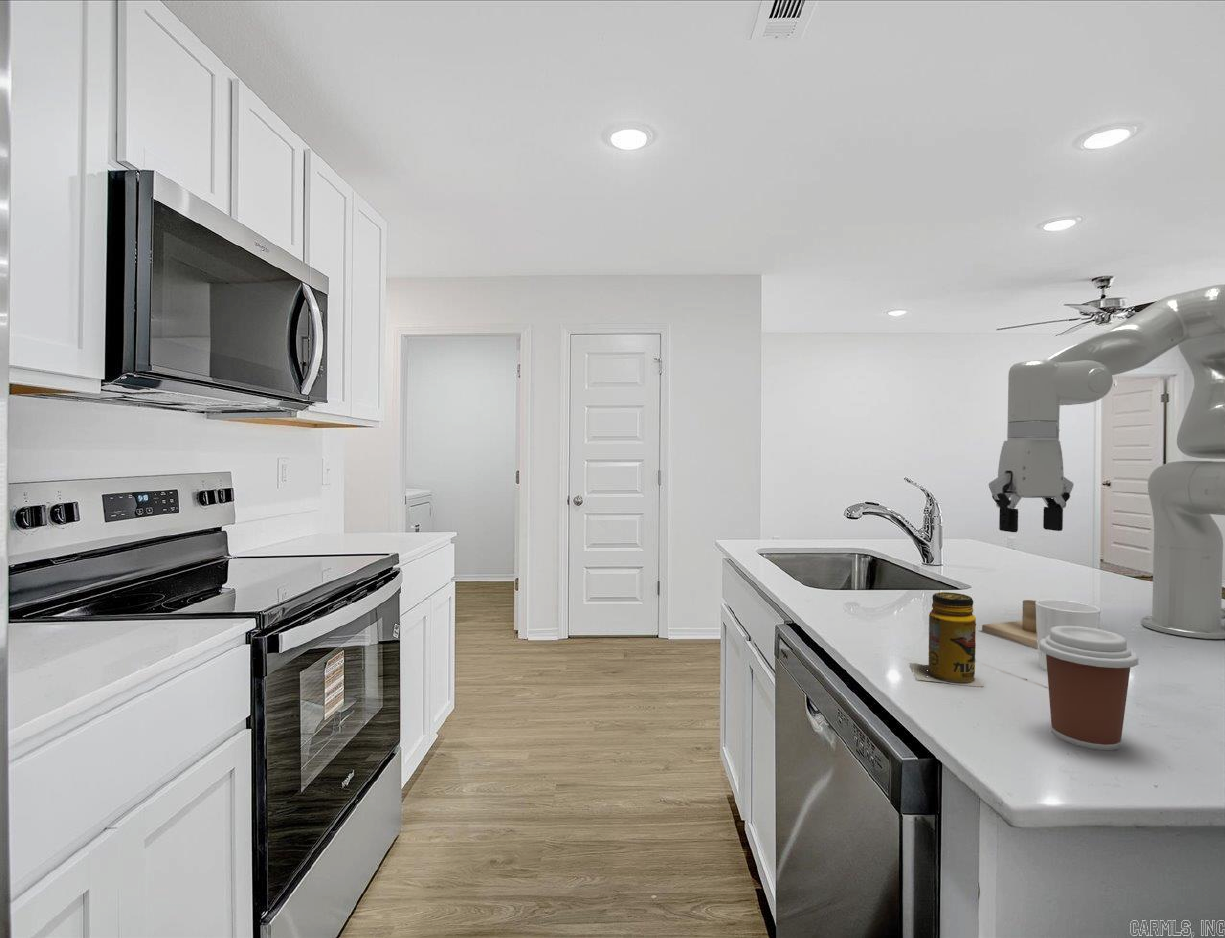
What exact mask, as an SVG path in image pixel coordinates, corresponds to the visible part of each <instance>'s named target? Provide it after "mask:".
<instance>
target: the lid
mask: <svg viewBox="0 0 1225 938" xmlns="http://www.w3.org/2000/svg"><path fill="white" fill-rule="evenodd" d="M1036 601H1037V600H1031V599H1024V600H1022V620H1017V621H1016V620H1015V621H1005V622H996V623H987V624H981V630H982V631H983V632H986V633H989V634H993V635H996V636H999V637H1002V638H1006V639H1009V640H1012V641H1015V642H1019V643H1022V644H1025V645H1028V646H1032V647H1035V648H1037V631H1036ZM986 633H985V634H986ZM989 634H988V635H989ZM999 637H998V638H999ZM1002 638H1001V639H1002ZM1015 642H1014V643H1015ZM1028 646H1027V647H1028Z"/></svg>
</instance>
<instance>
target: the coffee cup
mask: <svg viewBox="0 0 1225 938" xmlns="http://www.w3.org/2000/svg"><path fill="white" fill-rule="evenodd" d="M1039 650H1041V651H1042V652H1044V653H1045V654H1046V661H1047V670H1046V671H1047V673H1046V674H1047V685H1048V687H1047V688H1048V698H1049V710H1050V711H1049V712H1050V723H1051V728H1050V729H1051V733H1052V734H1053V735H1054V736H1055V737H1056V738H1057V739H1060V740H1062V741H1064V742H1065V743H1068V744H1072V745H1075V746H1077V747H1081V748H1086V749H1090V750H1095V751H1096V750H1098V751H1116V750H1118V749H1120V748H1121V747H1122V738H1123V737H1122V736H1123V727H1124V721H1125V714H1126V706H1127V705H1126V704H1127V697H1128V690H1129V689H1128V688H1129V681H1130V680H1129V679H1130V673H1131V668H1133V667H1135V666H1138V665H1139V657H1138V654H1137V653H1136V652H1134V651H1132V650H1131V648H1130V647H1129V646H1128V645H1127V639H1126V638H1125V637H1124V636H1123V635H1120V634H1119V633H1116V632H1112V631H1109V630H1104V629H1100V628H1099V629H1095V628H1088V627H1080V626H1056V627H1053V628H1051V629H1050V635H1048V636H1046V638H1044V639H1041V640H1040V644H1039Z"/></svg>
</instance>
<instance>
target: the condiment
mask: <svg viewBox="0 0 1225 938" xmlns="http://www.w3.org/2000/svg"><path fill="white" fill-rule="evenodd" d="M931 598H932V603H931V607H932V609H931V611H930V612H929V616H928V664H921V663H916V662H909V666H910V668H911V671H912V670H914V671H912V673H913V672H914V674H913V676H914V677H915V679H916V681H925V682H935V683H946V684H949V685H950V684H951V685H957V686H958V685H959V686H965V687H966V686H967V687H971V686H972V687H977V688H979V687H980V688H981V687H983V684H982V683H981V682H980V680H979V679H978V678H977V677H976V675H975V674H976V670H975V669H976V646H977V645H976V635H977V634H976V633H977V632H976V626H977V623H976V621H977V619H976V617H975V615H974V614H973V613H974V599H973V598H972V597H971V596H970V595H966V594H963V593H959V592H946V591H943V592H936V593H934V594H933V595H932V596H931ZM927 670H928V671H927ZM927 676H928V677H927Z"/></svg>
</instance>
